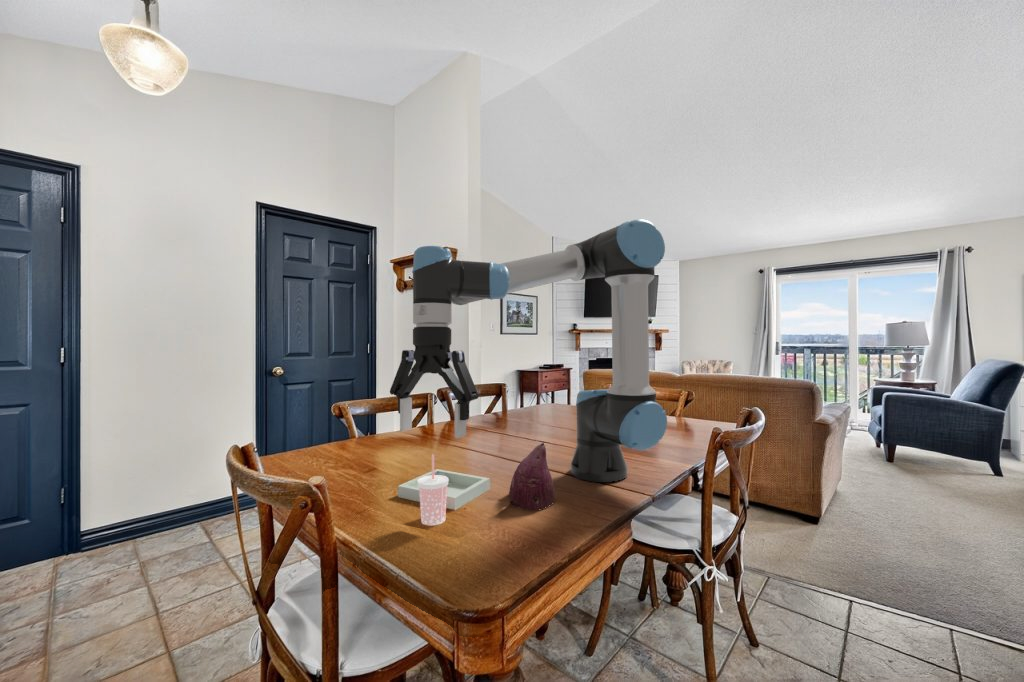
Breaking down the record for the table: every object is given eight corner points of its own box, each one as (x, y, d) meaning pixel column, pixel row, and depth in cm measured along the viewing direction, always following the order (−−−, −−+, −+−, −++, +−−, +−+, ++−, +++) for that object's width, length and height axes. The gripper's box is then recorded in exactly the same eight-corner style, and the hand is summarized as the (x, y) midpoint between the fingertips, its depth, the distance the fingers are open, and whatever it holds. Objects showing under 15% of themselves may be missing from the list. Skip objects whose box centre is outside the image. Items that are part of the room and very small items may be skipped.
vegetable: (554, 509, 97) (571, 447, 98) (546, 522, 87) (564, 452, 88) (513, 493, 100) (529, 433, 101) (500, 504, 90) (519, 437, 91)
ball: (448, 485, 102) (448, 472, 102) (440, 489, 99) (440, 475, 99) (438, 483, 103) (438, 470, 103) (430, 486, 100) (429, 473, 100)
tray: (489, 492, 99) (489, 478, 99) (455, 514, 87) (455, 498, 87) (436, 482, 107) (436, 469, 107) (397, 501, 94) (397, 485, 94)
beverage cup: (435, 515, 86) (435, 448, 86) (455, 524, 82) (454, 453, 82) (411, 525, 82) (410, 454, 82) (430, 535, 78) (430, 460, 78)
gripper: (372, 326, 85) (372, 430, 84) (474, 324, 73) (474, 444, 73) (398, 327, 91) (398, 424, 91) (496, 325, 79) (496, 436, 79)
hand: (432, 433), depth 82 cm, fingers open, 13 cm apart
